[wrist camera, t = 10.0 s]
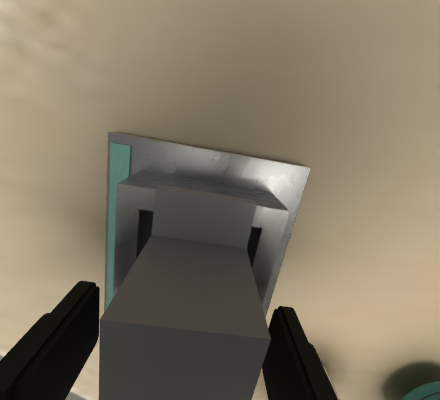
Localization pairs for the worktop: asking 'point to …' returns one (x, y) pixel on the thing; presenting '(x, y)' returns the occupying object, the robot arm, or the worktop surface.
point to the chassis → (199, 181)
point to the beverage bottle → (425, 392)
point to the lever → (187, 307)
